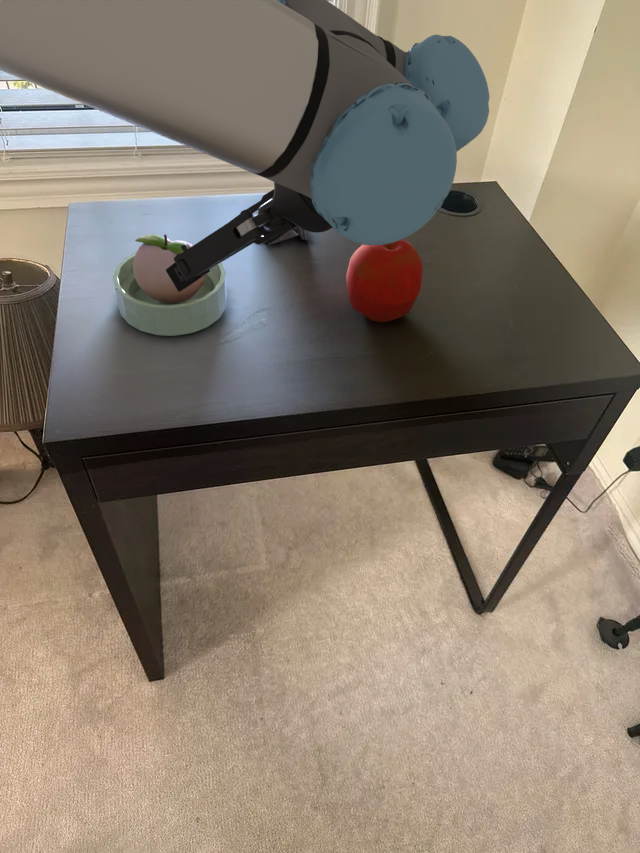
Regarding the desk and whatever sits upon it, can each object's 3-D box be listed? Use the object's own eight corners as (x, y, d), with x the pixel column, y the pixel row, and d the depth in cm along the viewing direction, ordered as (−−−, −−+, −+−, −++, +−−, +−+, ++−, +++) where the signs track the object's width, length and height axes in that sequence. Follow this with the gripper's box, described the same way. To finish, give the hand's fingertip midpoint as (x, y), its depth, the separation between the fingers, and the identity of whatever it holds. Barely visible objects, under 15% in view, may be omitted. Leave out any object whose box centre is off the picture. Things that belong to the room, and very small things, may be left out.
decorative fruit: (126, 314, 84) (114, 246, 77) (151, 279, 90) (141, 213, 82) (195, 327, 83) (188, 260, 76) (215, 291, 89) (211, 226, 81)
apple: (377, 281, 94) (388, 208, 86) (430, 314, 89) (447, 241, 81) (328, 308, 89) (335, 233, 80) (381, 344, 84) (395, 269, 76)
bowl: (127, 347, 81) (121, 315, 77) (113, 282, 90) (107, 251, 86) (237, 329, 84) (236, 298, 81) (214, 269, 93) (212, 239, 90)
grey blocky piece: (246, 211, 106) (241, 189, 94) (286, 196, 106) (286, 172, 94) (267, 266, 107) (265, 251, 95) (307, 251, 107) (310, 234, 95)
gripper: (252, 271, 51) (152, 333, 68) (429, 172, 64) (308, 245, 81) (201, 182, 49) (112, 269, 66) (394, 100, 62) (279, 190, 79)
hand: (220, 256), depth 74 cm, fingers open, 13 cm apart
